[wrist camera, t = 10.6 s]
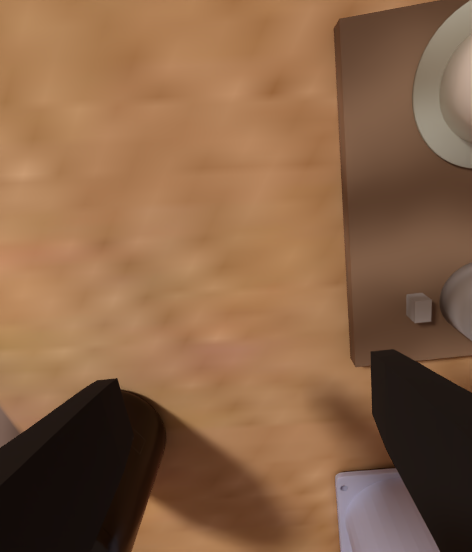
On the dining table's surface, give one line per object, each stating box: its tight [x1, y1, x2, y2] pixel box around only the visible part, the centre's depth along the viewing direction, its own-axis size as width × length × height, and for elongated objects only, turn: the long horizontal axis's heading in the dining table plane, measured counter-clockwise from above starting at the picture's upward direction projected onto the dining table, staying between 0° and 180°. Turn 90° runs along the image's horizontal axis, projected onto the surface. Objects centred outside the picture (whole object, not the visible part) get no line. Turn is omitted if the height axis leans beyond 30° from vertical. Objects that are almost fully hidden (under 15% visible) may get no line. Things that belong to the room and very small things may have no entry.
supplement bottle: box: [91, 390, 166, 552], centre depth 17 cm, size 7×7×12 cm
